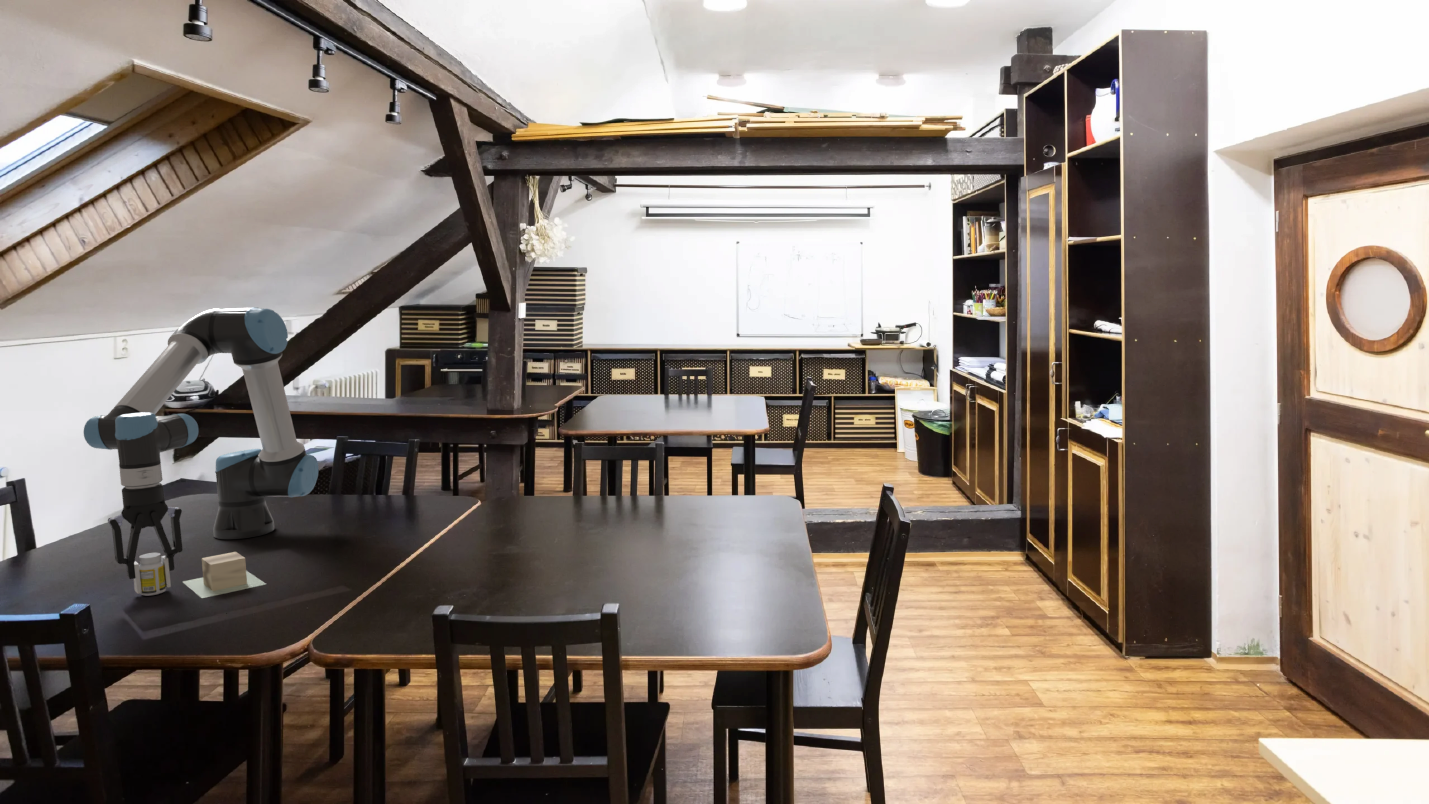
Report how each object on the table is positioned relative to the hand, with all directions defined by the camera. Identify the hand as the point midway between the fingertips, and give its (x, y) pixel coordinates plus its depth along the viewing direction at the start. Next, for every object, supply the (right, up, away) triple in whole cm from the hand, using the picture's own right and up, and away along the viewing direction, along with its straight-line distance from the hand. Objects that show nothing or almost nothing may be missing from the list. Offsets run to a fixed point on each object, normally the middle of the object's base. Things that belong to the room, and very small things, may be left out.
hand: (152, 588), depth 191 cm
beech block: (+12, 0, +6) cm, 14 cm away
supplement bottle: (0, -1, 0) cm, 1 cm away
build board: (+12, -1, +7) cm, 14 cm away
